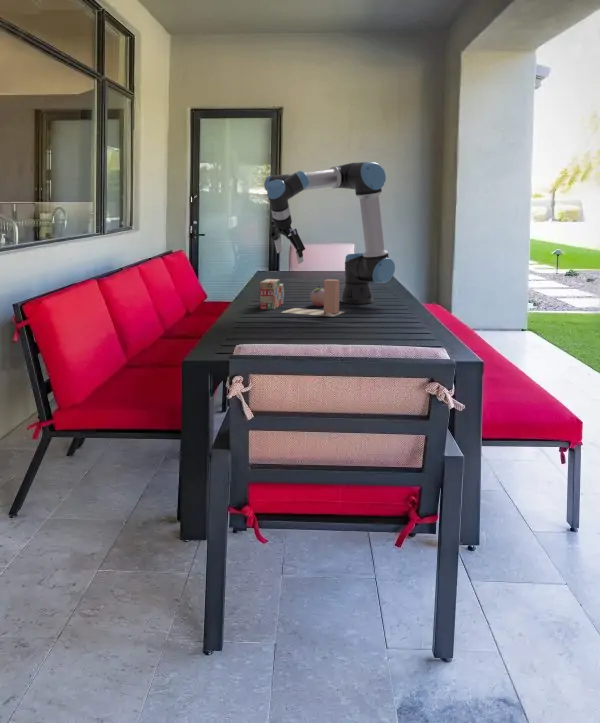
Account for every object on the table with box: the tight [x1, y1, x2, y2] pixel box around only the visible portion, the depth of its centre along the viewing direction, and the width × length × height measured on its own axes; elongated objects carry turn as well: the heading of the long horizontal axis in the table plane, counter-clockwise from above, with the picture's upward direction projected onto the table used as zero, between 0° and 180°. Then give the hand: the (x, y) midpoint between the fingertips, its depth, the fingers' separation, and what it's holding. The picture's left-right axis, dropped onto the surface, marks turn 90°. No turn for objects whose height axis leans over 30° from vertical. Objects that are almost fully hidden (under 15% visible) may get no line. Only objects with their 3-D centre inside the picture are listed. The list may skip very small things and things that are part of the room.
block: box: [323, 278, 341, 314], centre depth 321 cm, size 5×5×14 cm
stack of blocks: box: [259, 278, 285, 310], centre depth 348 cm, size 21×6×12 cm, turn 168°
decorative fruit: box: [309, 285, 324, 307], centre depth 343 cm, size 9×8×10 cm
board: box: [280, 307, 345, 317], centre depth 325 cm, size 24×14×1 cm, turn 67°
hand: (290, 256), depth 332 cm, fingers open, 13 cm apart
